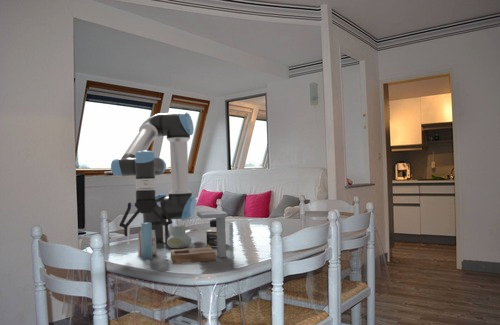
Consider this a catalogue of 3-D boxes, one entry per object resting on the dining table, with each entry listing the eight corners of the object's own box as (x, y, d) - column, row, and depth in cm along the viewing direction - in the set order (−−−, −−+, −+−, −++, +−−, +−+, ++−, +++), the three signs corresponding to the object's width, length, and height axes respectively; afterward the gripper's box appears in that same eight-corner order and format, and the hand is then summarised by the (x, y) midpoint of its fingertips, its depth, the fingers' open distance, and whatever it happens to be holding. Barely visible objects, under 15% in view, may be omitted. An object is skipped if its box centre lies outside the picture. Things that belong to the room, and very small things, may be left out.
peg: (142, 258, 158) (141, 222, 158) (152, 257, 159) (151, 222, 159) (142, 260, 154) (141, 224, 154) (152, 259, 155) (151, 223, 156)
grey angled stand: (198, 254, 161) (196, 211, 161) (222, 252, 163) (220, 210, 164) (202, 261, 147) (201, 214, 148) (228, 259, 150) (227, 213, 150)
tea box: (138, 254, 165) (137, 230, 166) (154, 252, 168) (153, 229, 169) (139, 256, 162) (139, 231, 162) (156, 254, 165) (155, 230, 165)
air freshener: (163, 249, 176) (163, 226, 176) (172, 245, 184) (172, 224, 184) (186, 249, 173) (185, 226, 173) (194, 246, 181) (193, 224, 181)
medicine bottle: (206, 246, 179) (205, 220, 179) (213, 243, 185) (213, 218, 186) (220, 247, 176) (219, 220, 176) (227, 244, 183) (226, 218, 183)
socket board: (170, 257, 157) (170, 250, 157) (210, 254, 161) (210, 246, 161) (172, 263, 145) (172, 255, 145) (215, 260, 149) (215, 252, 149)
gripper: (111, 191, 151) (112, 247, 150) (177, 188, 157) (179, 242, 156) (113, 190, 158) (114, 244, 157) (176, 188, 164) (177, 239, 163)
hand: (146, 243), depth 156 cm, fingers open, 13 cm apart
